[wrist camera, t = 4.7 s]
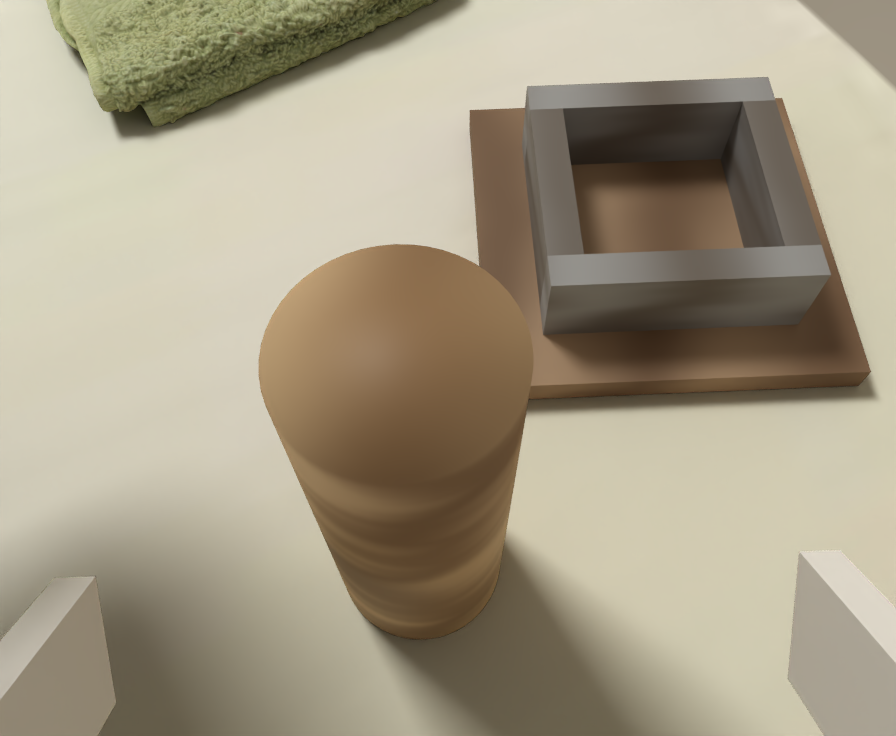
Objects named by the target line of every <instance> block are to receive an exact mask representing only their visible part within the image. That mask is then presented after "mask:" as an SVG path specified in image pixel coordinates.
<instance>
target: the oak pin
mask: <svg viewBox="0 0 896 736" xmlns="http://www.w3.org/2000/svg"><path fill="white" fill-rule="evenodd" d="M533 365H534V362H533V346H532V340H531V335H530V331H529V328H528V325H527V323H526V320H525V318H524V316H523V314H522V312H521V310H520V308H519V306H518V304H517V303H516V301H515V300H514V299H513V297H512V296H511V294H510V293H509V292H508V291H507V290H506V289H505V288H504V286H503V285H502V284H501V283H500V282H499V281H498V280H497V279H495V278H494V277H493V276H492V275H491V274H489V273H488V272H487V271H485V270H484V269H482V268H481V267H479V266H478V265H476V264H475V263H473V262H471V261H469V260H467V259H465V258H463V257H460V256H458V255H455V254H453V253H450V252H447V251H444V250H440V249H436V248H431V247H426V246H418V245H398V244H394V245H383V246H375V247H370V248H365V249H361V250H358V251H354V252H351V253H348V254H345V255H343V256H340V257H338V258H336V259H333V260H331V261H329V262H328V263H326V264H324V265H322V266H321V267H319V268H317V269H316V270H314V271H313V272H311V273H310V274H309V275H307V276H306V277H305V278H303V279H302V280H301V281H300V282H299V283H298V284H297V285H296V286H295V287H294V288H292V289H291V291H290V292H289V293H288V294H287V295H286V296H285V298H284V299H283V300H282V301H281V303H280V304H279V306H278V307H277V309H276V310H275V312H274V314H273V315H272V317H271V319H270V321H269V324H268V326H267V328H266V330H265V334H264V337H263V340H262V343H261V349H260V355H259V381H260V387H261V393H262V396H263V399H264V402H265V405H266V408H267V410H268V412H269V415H270V417H271V419H272V421H273V424H274V426H275V428H276V430H277V433H278V435H279V437H280V439H281V442H282V444H283V446H284V448H285V451H286V453H287V455H288V457H289V460H290V462H291V464H292V467H293V469H294V471H295V473H296V476H297V478H298V480H299V482H300V485H301V487H302V489H303V491H304V494H305V496H306V498H307V500H308V503H309V505H310V507H311V509H312V512H313V514H314V516H315V518H316V521H317V523H318V525H319V527H320V530H321V532H322V534H323V536H324V539H325V541H326V543H327V545H328V548H329V550H330V552H331V554H332V557H333V559H334V561H335V563H336V566H337V568H338V570H339V572H340V575H341V577H342V579H343V581H344V584H345V586H346V588H347V590H348V592H349V595H350V597H351V599H352V601H353V602H354V604H355V605H356V607H357V608H358V610H359V611H360V612H361V613H362V614H363V615H364V617H365V618H367V619H368V620H369V621H370V622H371V623H372V624H374V625H375V626H377V627H378V628H380V629H381V630H383V631H385V632H388V633H390V634H392V635H395V636H399V637H402V638H408V639H423V640H424V639H433V638H437V637H441V636H445V635H448V634H450V633H453V632H455V631H457V630H459V629H460V628H462V627H464V626H465V625H467V624H468V623H469V622H471V621H472V620H473V619H474V618H475V617H476V616H477V615H478V614H479V613H480V612H481V611H482V610H483V608H484V607H485V606H486V604H487V603H488V601H489V599H490V598H491V596H492V594H493V591H494V589H495V586H496V583H497V580H498V576H499V570H500V564H501V558H502V552H503V547H504V541H505V535H506V529H507V523H508V517H509V511H510V505H511V499H512V493H513V488H514V482H515V476H516V470H517V464H518V458H519V452H520V446H521V440H522V434H523V429H524V423H525V417H526V411H527V405H528V399H529V393H530V387H531V381H532V373H533Z"/></svg>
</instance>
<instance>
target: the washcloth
mask: <svg viewBox="0 0 896 736" xmlns="http://www.w3.org/2000/svg"><path fill="white" fill-rule="evenodd" d="M46 1H47V5H48V9H49V10H50V14H51V17H52V19H53V23H54V26H55V28H56V30H57V31H59V33H60V35H61V36H62V38H63V39H64V40H65V41H66V42H67V43H68V44H69V45H70V46H71V47H73V48H74V49H76V50H78V51H79V52H80V55H81V57H82V59H83V62H84V64H85V66H86V68H87V71H88V75H89V80H90V85H91V87H92V89H93V93H94V96H95V97H96V99H97V101H98V103H99V105H100V107H101V108H102V109H103V110H104V111H106V112H110V111H113V110H116V109H119V112H121V111H125V112H129V111H131V110H133V109H135V108H136V107H137V106H138V105H141V106H142V107H143V108H144V110H145V111H146V114H147V115H148V117H149V119H150V121H151V123H152V126H153V127H157V126H161V125H163V124H166V123H168V122H171V123H174V122H175V121H176V120H177V119H179V118H181V117H183V116H184V115H186V114H188V113H189V112H190V113H193V112H194V111H197V110H199V109H201V108H205V107H207V106H209V105H211V104H213V103H214V102H215V101H216V100H220V99H222V98H223V97H225V96H228V95H231V94H233V93H236V92H238V91H240V90H244V89H247V88H249V87H250V86H252V85H254V84H257V83H259V82H260V81H262V80H264V79H267V78H269V77H270V76H272V75H277V74H280V73H283V72H284V71H285V70H287V69H288V68H290V67H294V66H298V65H299V64H300V63H301V62H304V61H306V60H307V59H312V58H314V57H318V56H320V54H321V53H322V52H328V51H329V50H331V49H333V48H336V47H338V46H340V45H342V44H344V43H346V42H348V41H349V40H353V39H355V38H358V37H364V34H365V33H368V32H370V31H371V32H373V30H375V29H376V27H377V26H381V25H385V24H387V23H388V22H393V21H394V20H395V18H397V17H404V16H407V15H408V14H410V13H412V11H414V10H416V9H417V8H420V7H421V6H423V5H424V6H427V5H430V4H432V3H433V2H436V1H437V0H46Z"/></svg>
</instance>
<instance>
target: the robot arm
mask: <svg viewBox="0 0 896 736" xmlns="http://www.w3.org/2000/svg"><path fill="white" fill-rule="evenodd" d="M788 680H789V682H790V683H791V685H792V686H793V688H794V689H795V691H796V693H797V694H798V696H799V697H800V699H801V700H802V702H803V703H804V705H805V707H806V708H807V710H808V711H809V713H810V714H811V716H812V717H813V719H814V721H815V722H816V724H817V725H818V727H819V728H820V730H821V731H822V733H823V735H824V736H896V607H895V606H894V605H893V604H892V603H891V602H890V601H889V600H888V599H887V598H886V597H885V596H884V595H883V594H882V593H881V592H880V591H879V590H878V589H877V588H876V587H875V586H874V585H873V584H872V583H871V582H870V581H869V580H868V578H867V577H866V576H865V575H864V574H863V573H862V572H861V571H860V570H859V569H858V568H857V567H856V566H855V565H854V564H853V563H852V562H851V561H850V560H849V559H848V558H847V557H846V556H845V555H844V554H843V553H842V552H841V551H840V550H824V551H799V557H798V568H797V579H796V590H795V601H794V613H793V624H792V635H791V646H790V657H789V668H788ZM115 704H116V698H115V692H114V686H113V680H112V674H111V668H110V661H109V655H108V649H107V643H106V637H105V631H104V624H103V618H102V612H101V606H100V600H99V594H98V588H97V581H96V576H86V577H58V578H54V579H53V580H52V581H51V582H50V583H49V585H48V586H47V587H46V588H45V589H44V590H43V592H42V593H41V594H40V595H39V596H38V597H37V598H36V600H35V601H34V602H33V603H32V604H31V605H30V607H29V608H28V609H27V610H26V611H25V612H24V614H23V615H22V616H21V617H20V618H19V619H18V621H17V622H16V623H15V624H14V625H13V626H12V628H11V629H10V630H9V631H8V632H7V633H6V634H5V636H4V637H3V638H2V639H1V640H0V736H98V734H99V732H100V731H101V729H102V727H103V725H104V723H105V722H106V720H107V718H108V716H109V715H110V713H111V711H112V709H113V708H114V706H115Z"/></svg>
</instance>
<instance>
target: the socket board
mask: <svg viewBox="0 0 896 736" xmlns="http://www.w3.org/2000/svg"><path fill="white" fill-rule="evenodd" d="M470 140H471V154H472V168H473V182H474V196H475V211H476V225H477V239H478V253H479V267H481V268H482V269H484V270H485V271H487V272H488V273H489V274H491V275H492V276H493V277H494V278H495V279H497V280H498V281H499V282H500V283H501V284H502V285H503V286H504V288H505V289H506V290H507V291H508V292H509V293H510V294H511V296H512V297H513V299H514V300H515V301H516V303H517V304H518V306H519V308H520V310H521V312H522V314H523V316H524V318H525V320H526V323H527V325H528V328H529V331H530V335H531V340H532V346H533V362H534V365H533V373H532V381H531V387H530V393H529V399H544V398H568V397H593V396H617V395H641V394H665V393H689V392H714V391H738V390H762V389H786V388H811V387H835V386H859V385H860V383H861V382H862V381H863V380H864V379H865V378H866V377H867V376H868V375H869V373H870V372H871V371H870V368H869V364H868V361H867V358H866V355H865V352H864V349H863V346H862V343H861V340H860V337H859V334H858V331H857V328H856V324H855V321H854V318H853V315H852V312H851V309H850V306H849V303H848V300H847V297H846V294H845V291H844V287H843V284H842V281H841V278H840V275H839V272H838V269H837V266H836V263H835V260H834V257H833V254H832V251H831V247H830V244H829V241H828V238H827V235H826V232H825V229H824V226H823V223H822V220H821V217H820V214H819V211H818V207H817V204H816V201H815V198H814V195H813V192H812V189H811V186H810V183H809V180H808V177H807V174H806V170H805V167H804V164H803V161H802V158H801V155H800V152H799V149H798V146H797V143H796V140H795V137H794V134H793V130H792V127H791V124H790V121H789V118H788V115H787V112H786V109H785V106H784V103H783V100H782V98H775V97H774V94H773V91H772V88H771V85H770V82H769V78H768V77H756V78H730V79H704V80H678V81H652V82H626V83H600V84H574V85H548V86H527V94H526V105H525V108H515V109H489V110H470Z"/></svg>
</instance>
